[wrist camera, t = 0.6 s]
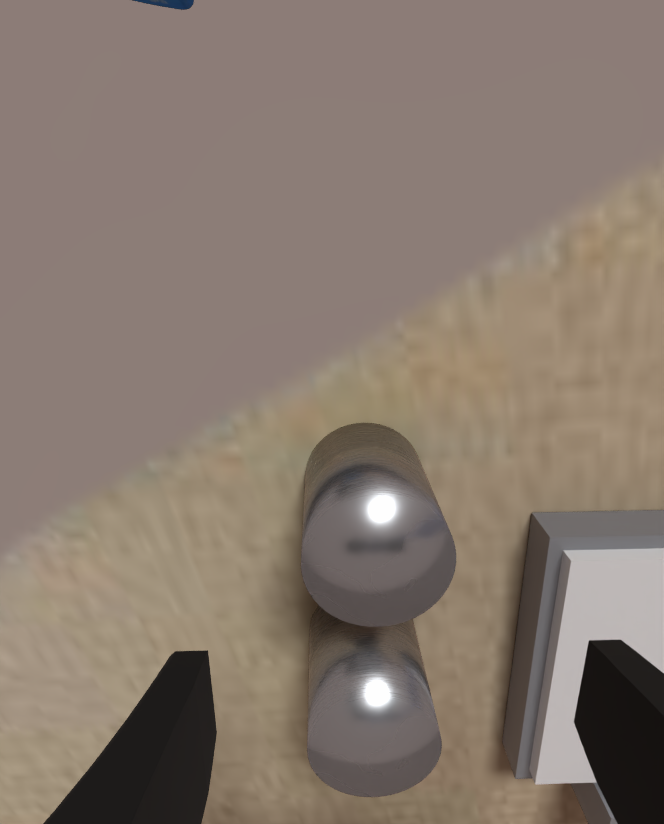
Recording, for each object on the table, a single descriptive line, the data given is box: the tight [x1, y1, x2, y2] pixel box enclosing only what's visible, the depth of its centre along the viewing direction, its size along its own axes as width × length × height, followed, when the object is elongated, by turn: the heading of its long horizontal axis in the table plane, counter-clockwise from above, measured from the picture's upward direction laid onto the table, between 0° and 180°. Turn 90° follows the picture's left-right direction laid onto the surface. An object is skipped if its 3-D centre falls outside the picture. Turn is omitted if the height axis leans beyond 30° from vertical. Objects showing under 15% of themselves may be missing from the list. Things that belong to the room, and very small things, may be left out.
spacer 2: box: [307, 606, 442, 797], centre depth 18 cm, size 4×4×5 cm
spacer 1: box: [301, 423, 456, 627], centre depth 16 cm, size 4×4×5 cm
